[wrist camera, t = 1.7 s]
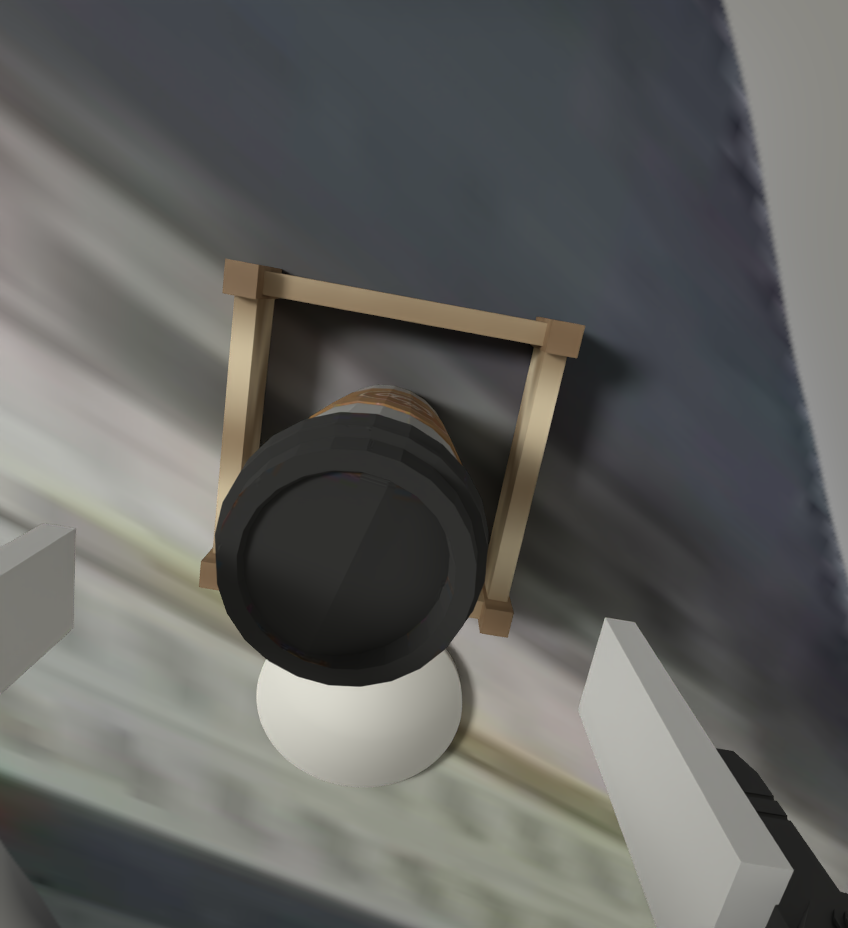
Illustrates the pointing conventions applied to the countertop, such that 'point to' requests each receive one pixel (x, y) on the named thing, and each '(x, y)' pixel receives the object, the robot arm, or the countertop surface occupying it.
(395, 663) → the coffee cup
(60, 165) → the countertop surface
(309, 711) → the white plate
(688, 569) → the countertop surface
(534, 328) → the wooden frame
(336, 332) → the countertop surface
